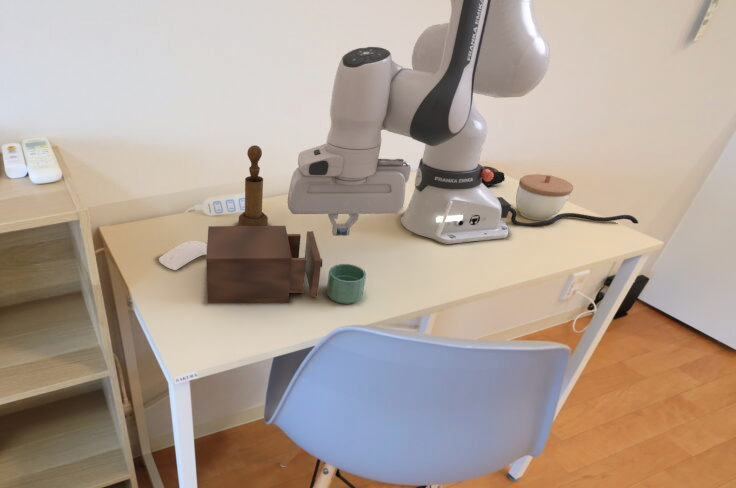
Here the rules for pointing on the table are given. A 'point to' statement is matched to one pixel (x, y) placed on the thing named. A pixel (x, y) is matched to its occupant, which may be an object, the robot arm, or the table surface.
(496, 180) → the tape measure
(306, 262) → the drawer
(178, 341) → the table surface
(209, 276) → the cabinet
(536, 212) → the trinket box
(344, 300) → the cylindrical container
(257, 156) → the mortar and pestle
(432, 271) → the table surface
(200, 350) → the table surface
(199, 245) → the white curved flat piece
